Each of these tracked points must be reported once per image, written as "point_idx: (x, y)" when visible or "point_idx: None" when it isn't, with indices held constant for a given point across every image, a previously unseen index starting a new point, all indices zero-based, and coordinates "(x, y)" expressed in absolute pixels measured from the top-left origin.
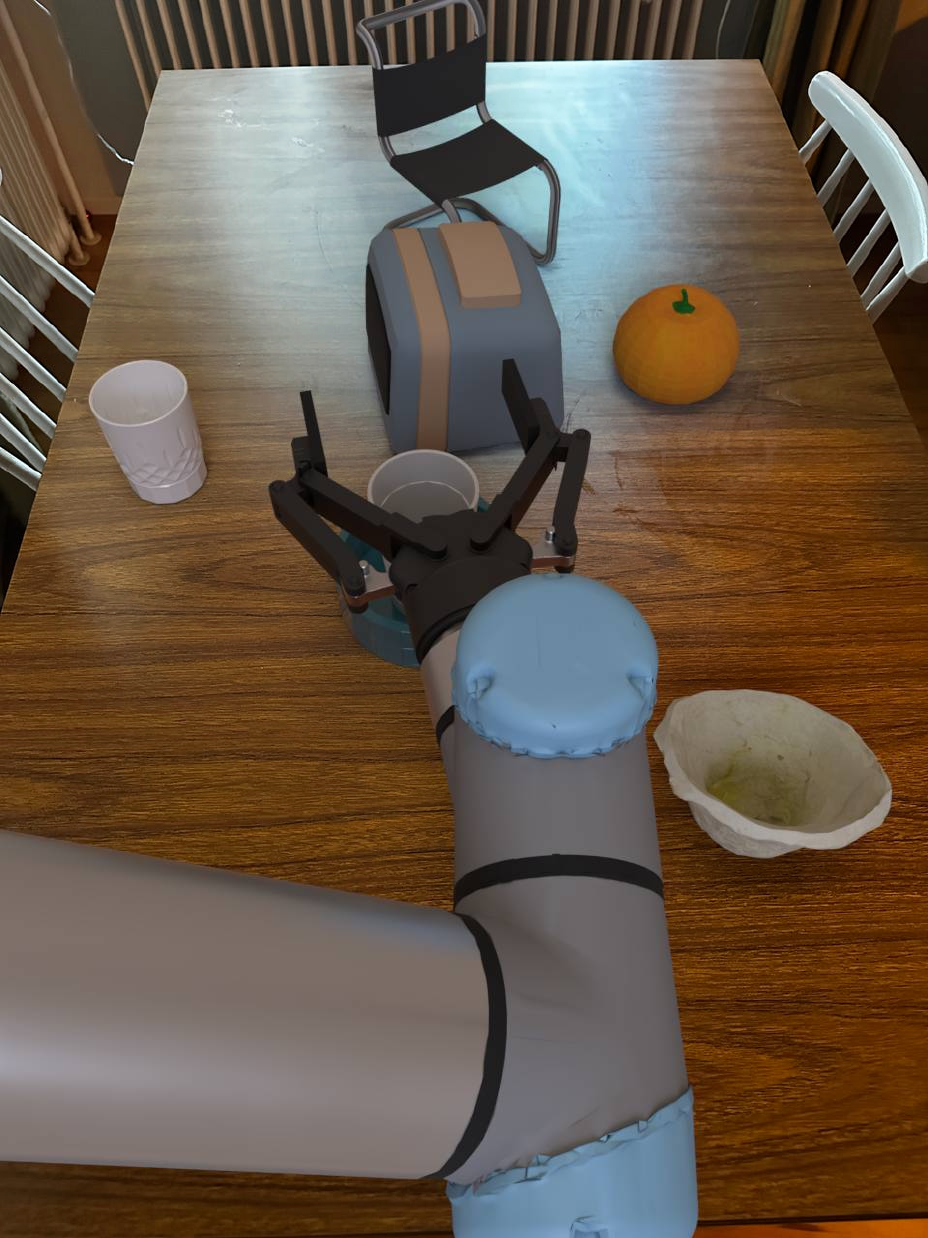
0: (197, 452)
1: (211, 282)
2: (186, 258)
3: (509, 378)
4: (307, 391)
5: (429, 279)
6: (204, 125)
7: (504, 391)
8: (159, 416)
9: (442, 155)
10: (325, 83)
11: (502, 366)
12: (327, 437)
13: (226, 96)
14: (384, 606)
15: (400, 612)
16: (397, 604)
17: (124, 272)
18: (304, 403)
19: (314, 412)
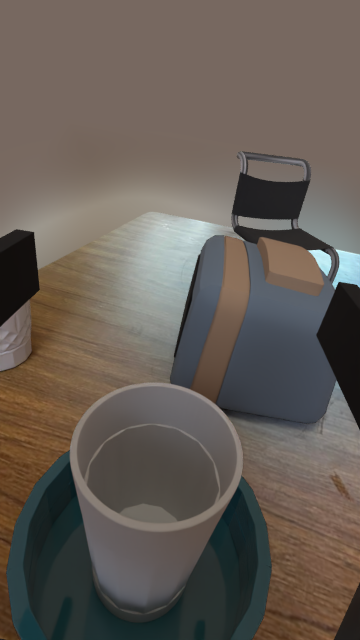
0: (17, 338)
1: (114, 269)
2: (109, 258)
3: (353, 303)
4: (27, 232)
5: (243, 259)
6: (152, 225)
7: (325, 333)
8: None
9: (266, 233)
10: (213, 227)
11: (333, 294)
12: (128, 365)
13: (168, 220)
14: (79, 564)
15: (93, 583)
16: (92, 571)
17: (74, 255)
18: (5, 239)
19: (4, 248)
